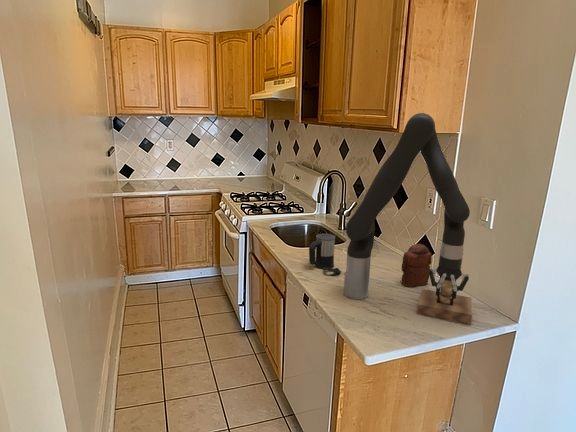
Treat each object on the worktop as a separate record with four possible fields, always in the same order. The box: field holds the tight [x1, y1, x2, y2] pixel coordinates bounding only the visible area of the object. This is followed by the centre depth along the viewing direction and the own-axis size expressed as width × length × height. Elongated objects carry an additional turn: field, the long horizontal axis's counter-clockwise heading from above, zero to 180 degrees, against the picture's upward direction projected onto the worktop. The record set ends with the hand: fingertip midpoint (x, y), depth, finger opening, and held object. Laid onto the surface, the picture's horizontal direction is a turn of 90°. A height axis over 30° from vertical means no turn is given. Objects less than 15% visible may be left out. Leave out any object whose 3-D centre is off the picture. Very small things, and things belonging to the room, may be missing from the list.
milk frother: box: [308, 233, 342, 275], centre depth 179 cm, size 14×16×15 cm
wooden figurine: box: [400, 243, 433, 288], centre depth 164 cm, size 12×6×18 cm, turn 108°
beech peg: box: [439, 280, 453, 305], centre depth 143 cm, size 4×4×10 cm
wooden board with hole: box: [416, 288, 473, 326], centre depth 144 cm, size 18×14×4 cm
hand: (445, 297), depth 143 cm, fingers open, 4 cm apart
